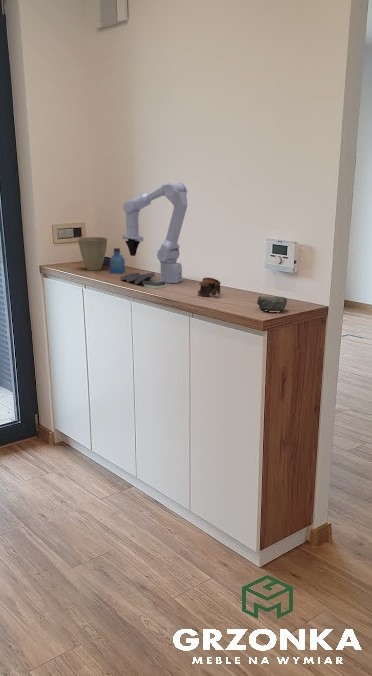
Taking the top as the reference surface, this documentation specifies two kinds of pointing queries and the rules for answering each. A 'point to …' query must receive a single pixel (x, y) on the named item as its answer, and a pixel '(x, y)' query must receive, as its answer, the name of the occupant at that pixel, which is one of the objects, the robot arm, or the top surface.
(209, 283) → the brown irregular lump
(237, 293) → the top surface
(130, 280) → the domino
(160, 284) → the domino
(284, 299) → the rock
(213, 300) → the top surface
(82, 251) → the plant pot
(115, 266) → the perfume bottle
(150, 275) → the domino
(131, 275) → the domino
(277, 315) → the top surface
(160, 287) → the domino
